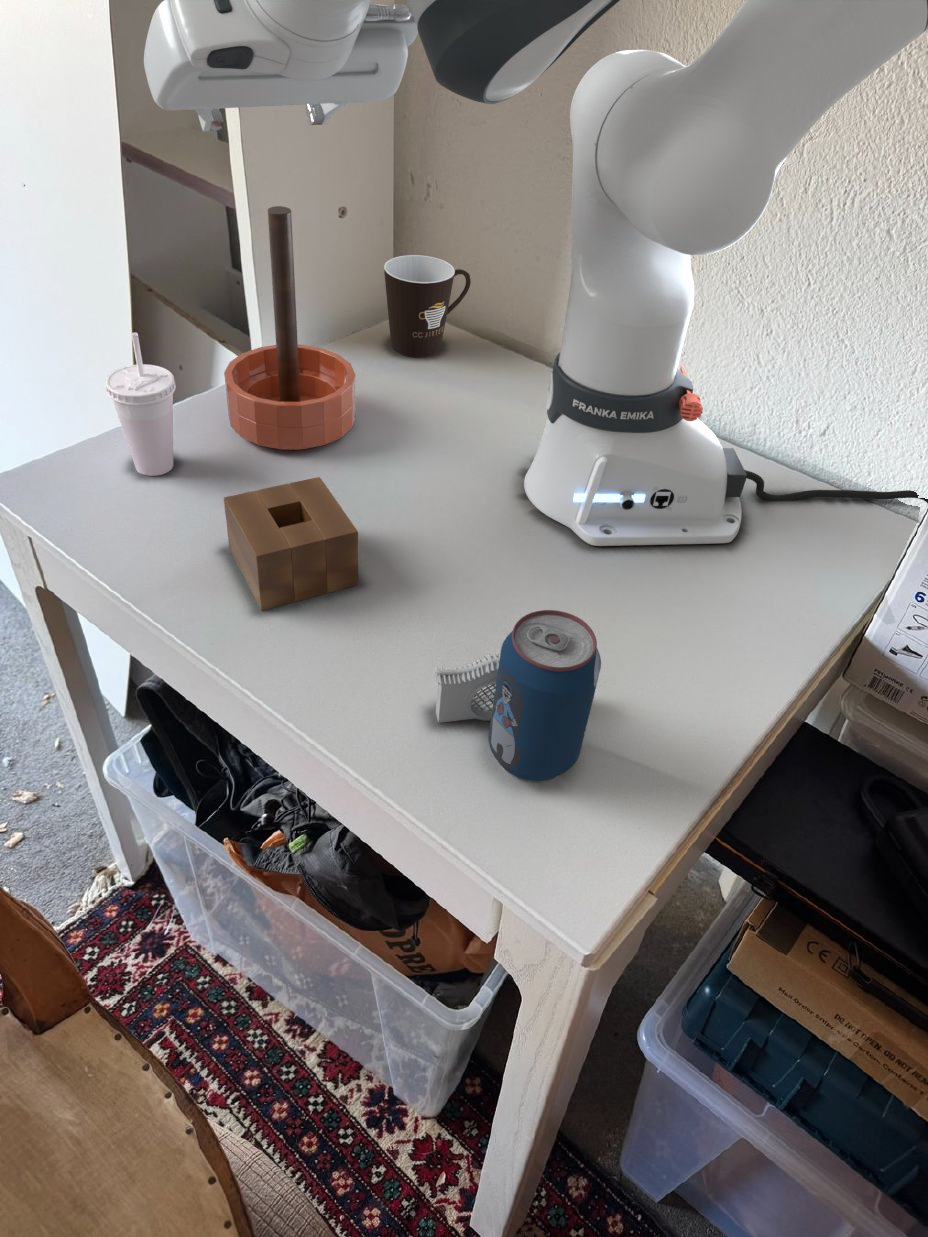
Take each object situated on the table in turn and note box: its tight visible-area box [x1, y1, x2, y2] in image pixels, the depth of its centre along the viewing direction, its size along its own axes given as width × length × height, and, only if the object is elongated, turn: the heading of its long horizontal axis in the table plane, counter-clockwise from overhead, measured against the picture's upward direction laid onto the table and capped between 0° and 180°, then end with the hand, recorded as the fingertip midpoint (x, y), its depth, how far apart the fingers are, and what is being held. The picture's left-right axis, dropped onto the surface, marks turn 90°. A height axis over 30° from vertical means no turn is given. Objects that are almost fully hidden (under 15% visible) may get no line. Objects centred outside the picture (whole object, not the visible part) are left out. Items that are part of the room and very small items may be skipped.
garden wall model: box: [434, 653, 501, 724], centre depth 71 cm, size 12×2×6 cm, turn 102°
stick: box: [267, 205, 300, 402], centre depth 95 cm, size 2×2×22 cm
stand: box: [223, 476, 359, 611], centre depth 82 cm, size 9×9×6 cm
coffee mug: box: [383, 254, 472, 358], centre depth 116 cm, size 12×9×10 cm
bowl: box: [223, 344, 357, 451], centre depth 101 cm, size 14×14×6 cm
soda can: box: [488, 609, 602, 783], centre depth 66 cm, size 7×7×12 cm
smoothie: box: [104, 332, 177, 477], centre depth 90 cm, size 6×6×14 cm
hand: (263, 119), depth 79 cm, fingers open, 8 cm apart
